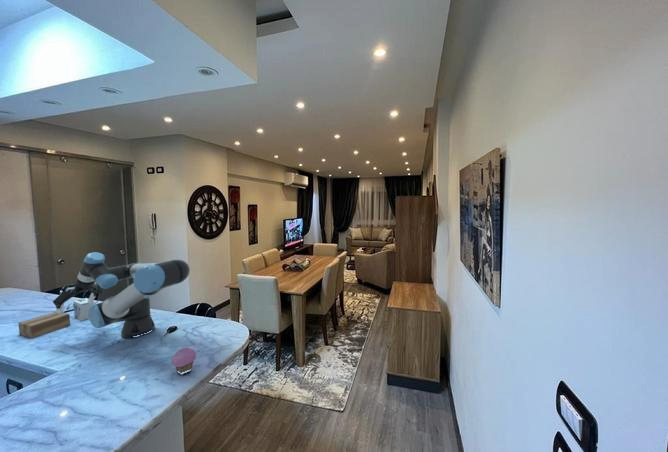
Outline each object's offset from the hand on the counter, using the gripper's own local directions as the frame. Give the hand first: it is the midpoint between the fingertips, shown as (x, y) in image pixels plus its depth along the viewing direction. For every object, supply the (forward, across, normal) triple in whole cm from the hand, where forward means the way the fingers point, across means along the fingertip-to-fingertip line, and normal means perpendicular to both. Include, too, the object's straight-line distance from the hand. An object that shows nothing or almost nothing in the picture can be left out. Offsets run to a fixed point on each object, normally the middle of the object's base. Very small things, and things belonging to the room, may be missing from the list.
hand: (74, 307), depth 143 cm
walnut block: (+26, +3, -10) cm, 28 cm away
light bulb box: (+26, -15, -10) cm, 32 cm away
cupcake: (-37, +5, +78) cm, 86 cm away
